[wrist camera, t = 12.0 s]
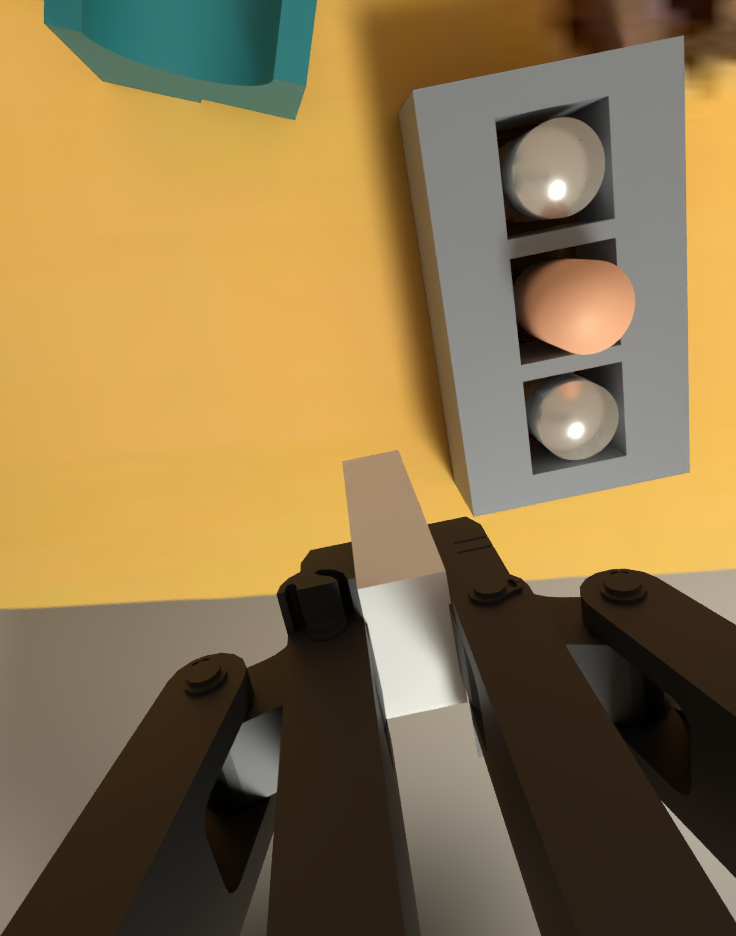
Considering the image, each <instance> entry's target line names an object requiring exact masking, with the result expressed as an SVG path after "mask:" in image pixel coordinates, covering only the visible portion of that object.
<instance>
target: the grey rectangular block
mask: <svg viewBox="0 0 736 936" xmlns="http://www.w3.org/2000/svg"><path fill="white" fill-rule="evenodd" d="M398 116H399V123H400V129H401V136H402V142H403V149H404V155H405V162H406V168H407V175H408V182H409V188H410V195H411V201H412V208H413V214H414V221H415V227H416V234H417V240H418V247H419V254H420V260H421V267H422V273H423V280H424V286H425V293H426V299H427V306H428V312H429V319H430V326H431V332H432V339H433V345H434V352H435V358H436V365H437V371H438V378H439V384H440V391H441V397H442V404H443V411H444V417H445V424H446V430H447V437H448V443H449V450H450V456H451V463H452V469H453V476H454V483H455V485H456V486H457V488H458V490H459V492H460V493H461V495H462V497H463V499H464V500H465V502H466V504H467V506H468V507H469V509H470V511H471V513H472V514H473V516H474V517H475V516H480V515H485V514H490V513H495V512H500V511H504V510H509V509H514V508H519V507H524V506H529V505H534V504H538V503H543V502H548V501H553V500H558V499H563V498H568V497H572V496H577V495H582V494H587V493H592V492H597V491H602V490H606V489H611V488H616V487H621V486H626V485H631V484H636V483H640V482H645V481H650V480H655V479H660V478H665V477H670V476H674V475H679V474H684V473H689V472H690V459H689V384H688V310H687V235H686V160H685V86H684V36H679V37H674V38H669V39H664V40H659V41H654V42H649V43H644V44H639V45H634V46H629V47H624V48H619V49H614V50H609V51H604V52H599V53H594V54H589V55H584V56H579V57H574V58H569V59H564V60H559V61H554V62H549V63H544V64H539V65H535V66H530V67H525V68H520V69H515V70H510V71H505V72H500V73H495V74H490V75H485V76H480V77H475V78H470V79H465V80H460V81H455V82H450V83H445V84H440V85H435V86H430V87H425V88H420V89H415V90H412V92H411V93H410V95H409V96H408V98H407V100H406V101H405V103H404V105H403V106H402V108H401V110H400V111H399V113H398ZM560 117H569V118H574V119H577V120H580V121H582V122H584V123H586V124H587V125H588V126H590V127H591V128H592V129H593V130H594V132H595V133H596V134H597V136H598V137H599V139H600V141H601V144H602V146H603V150H604V155H605V171H604V176H603V180H602V183H601V186H600V188H599V190H598V192H597V193H596V195H595V196H594V198H593V199H592V200H591V202H590V203H589V204H588V205H587V206H586V207H584V208H583V209H582V210H580V211H579V212H577V213H575V214H573V223H568V224H563V225H558V226H553V227H548V228H543V229H538V230H533V231H528V232H523V233H518V234H514V235H509V236H507V229H506V219H505V210H504V200H503V191H502V182H501V172H500V163H499V153H498V144H497V134H496V132H498V131H503V130H508V129H513V128H518V127H523V126H528V125H533V124H538V123H543V122H546V121H549V120H551V119H555V118H560ZM572 246H575V257H576V259H585V260H601V261H606V262H609V263H612V264H614V265H616V266H617V267H619V268H620V269H621V270H622V271H623V272H624V273H625V274H626V275H627V276H628V278H629V280H630V281H631V284H632V286H633V289H634V294H635V309H634V314H633V318H632V320H631V323H630V325H629V327H628V329H627V330H626V332H625V333H624V334H623V336H622V337H621V338H620V339H619V340H618V341H617V342H616V343H615V344H613V345H612V346H611V347H609V348H607V349H605V350H603V351H601V352H598V353H595V354H589V355H580V354H574V353H571V352H568V351H566V350H564V349H561V348H559V347H557V346H554V345H552V344H549V343H547V342H545V341H542V340H538V341H533V342H528V343H523V344H519V342H518V332H517V323H516V314H515V304H514V295H513V285H512V276H511V266H510V259H513V258H518V257H523V256H528V255H533V254H538V253H543V252H548V251H553V250H558V249H562V248H567V247H572ZM583 369H584V378H585V379H587V380H589V381H591V382H593V383H595V384H597V385H599V386H601V387H603V388H605V389H606V390H607V391H608V392H609V393H610V394H611V395H612V396H613V398H614V399H615V401H616V404H617V407H618V413H619V420H618V425H617V429H616V431H615V434H614V436H613V438H612V439H611V441H610V442H609V443H608V444H607V445H606V447H604V448H603V449H602V450H601V451H600V452H598V453H597V454H595V455H593V456H591V457H588V458H585V459H580V460H568V459H564V458H561V457H558V456H557V455H555V454H554V453H552V452H551V451H550V450H549V449H548V448H546V447H545V446H544V445H543V444H542V443H541V442H540V441H538V440H534V441H529V436H528V427H527V417H526V408H525V398H524V389H523V382H524V381H529V380H534V379H539V378H544V377H549V376H554V375H559V374H564V373H569V372H573V371H578V370H583Z"/></svg>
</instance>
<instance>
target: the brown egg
mask: <svg viewBox="0 0 736 936" xmlns="http://www.w3.org/2000/svg"><path fill="white" fill-rule="evenodd" d="M513 295H514V304H515V314H516V323H517V325H518V326H519V327H520V328H521V329H522V330H523V331H524V332H525V333H527V334H528V335H531V336H533V337H535V338H538V339H540V340H542V341H545V342H547V343H549V344H552V345H554V346H557V347H559V348H561V349H564V350H566V351H568V352H571V353H574V354H580V355H589V354H595V353H598V352H601V351H603V350H605V349H607V348H609V347H611V346H612V345H613V344H615V343H616V342H617V341H618V340H619V339H620V338H621V337H622V336H623V334H624V333H625V332H626V330H627V329H628V327H629V325H630V323H631V320H632V318H633V314H634V309H635V294H634V289H633V286H632V284H631V281H630V280H629V278H628V276H627V275H626V274H625V273H624V272H623V271H622V270H621V269H620V268H619V267H617V266H616V265H614V264H612V263H609V262H606V261H601V260H585V259H565V258H547V259H542V260H539V261H537V262H535V263H533V264H531V265H530V266H529V267H527V268H526V269H525V270H524V271H523V272H522V273H521V274H520V276H519V277H518V279H517V280H516V282H515V284H514V287H513Z"/></svg>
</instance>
